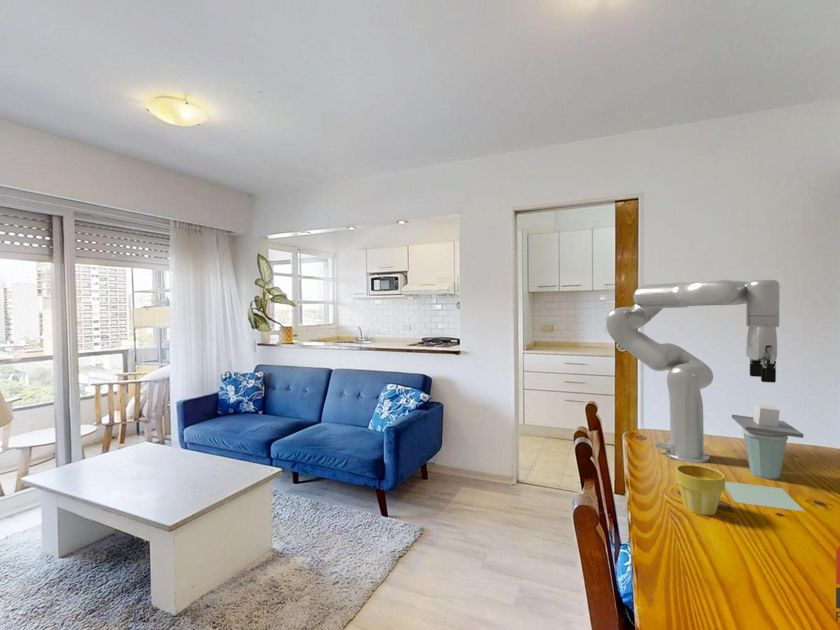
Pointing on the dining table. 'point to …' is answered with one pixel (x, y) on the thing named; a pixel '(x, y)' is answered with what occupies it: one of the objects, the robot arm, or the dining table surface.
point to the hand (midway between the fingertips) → (762, 379)
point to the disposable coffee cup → (765, 453)
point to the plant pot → (700, 488)
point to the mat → (761, 496)
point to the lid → (766, 422)
